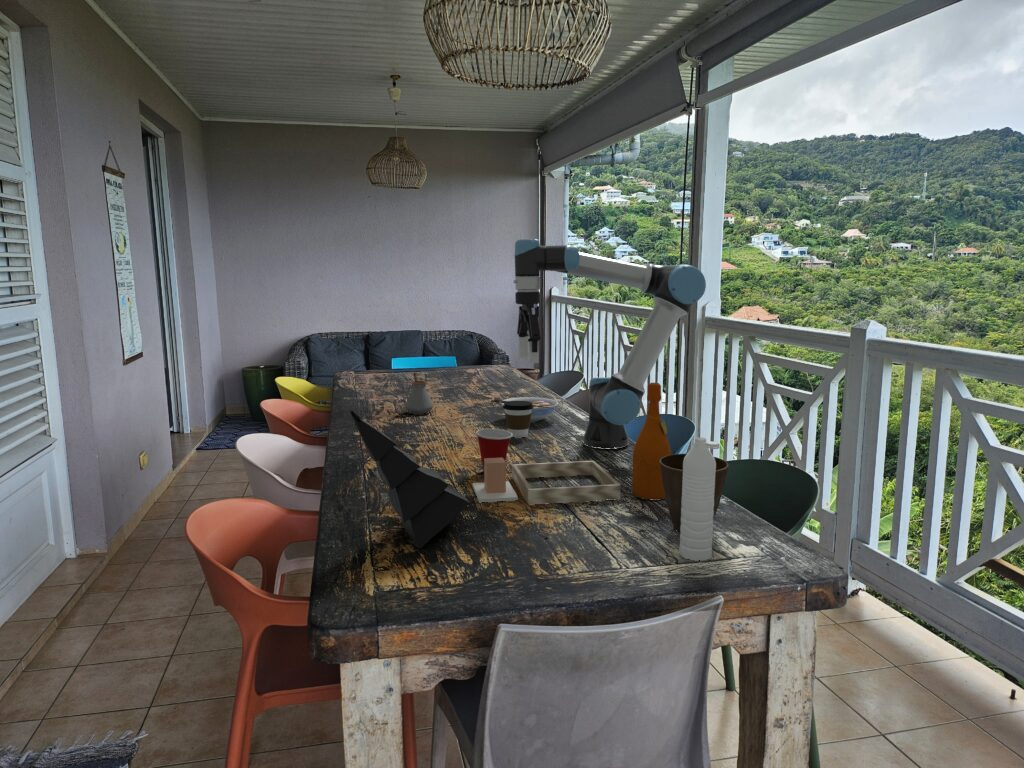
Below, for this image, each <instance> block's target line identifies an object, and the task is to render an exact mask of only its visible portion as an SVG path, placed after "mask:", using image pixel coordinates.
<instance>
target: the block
mask: <svg viewBox="0 0 1024 768" xmlns="http://www.w3.org/2000/svg"><path fill="white" fill-rule="evenodd" d="M483 474H484V475H483V477H484V478H483V479H484V481H483V482H484V488H485V490H486V492H487V493H500V492H506V481H507V461H505V460H504V459H503V458H484V470H483Z"/></svg>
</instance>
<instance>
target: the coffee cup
mask: <svg viewBox="0 0 1024 768" xmlns="http://www.w3.org/2000/svg"><path fill="white" fill-rule="evenodd" d="M503 408H504V409H505V411H504V416H505V423H506V428H507V431H508V432H511V433H512V434H513V436H512V437H515V438H514V439H523V438H522V437H525V438H527V437H528V435H529V428H530V427H531V426H530V425H531V423H530V420H531V414H532V413H531V411H532V409H533V408H534V406H533V404H532V403H531V402H529V401H508V402H505V403H504V405H503ZM503 408H502V409H503ZM504 409H503V410H504ZM512 437H511V438H512Z"/></svg>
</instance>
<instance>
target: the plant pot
mask: <svg viewBox="0 0 1024 768" xmlns="http://www.w3.org/2000/svg"><path fill="white" fill-rule="evenodd" d="M686 454H687V453H673V454H671V455H668V456H665V457H662V458H661V459H660V469H661V477H662V484H663V489H664V494H665V499H664V500H665V502H666V506H667V511H668V513H669V517H670V519H671V522H672V526H673V528H674V530H675V529H676V530H677V531H679V532H680V526H681V507H682V505H681V500H682V484H683V483H682V481H683V460H684V458H685V456H686ZM713 457H714V458H715V461H716V472H715V489H714V490H715V492H714V508H713V510H714V516H713V520H714V518H715V516H716V514H717V511H718V508H719V505H720V503H721V499H722V497H723V496H722V495H723V492H724V488H725V485H726V480H727V475H728V471H729V470H728V469H729V463H728V462H727V460H725V459H724V458H723V459H722V458H719V457H716V456H713ZM676 530H675V531H676ZM677 531H676V532H677ZM679 532H678V533H679Z"/></svg>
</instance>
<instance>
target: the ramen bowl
mask: <svg viewBox="0 0 1024 768" xmlns="http://www.w3.org/2000/svg"><path fill="white" fill-rule="evenodd" d="M508 401H529V402H531V403H532V404H533V406H534V408H533V409H532V411H531V413H532V414H531V420H530V422H532V423H537V422H539V421H540V420H544V419H546V418H548V417H549V416H552V414H553V413H554V412H555V410H556V409H557V407H558V405H559V401H558V400H555V399H552V398H546V397H536V396H534V397H531V396H530V397H529V396H526V397H511V398H507V399H503V400H501V399H492V400H490V402H491V403H497V404H498V403H500V405H501V408H502V409H503V411H504V412H505V409H504V408H503V405H504V403H505V402H508ZM536 421H537V422H536Z"/></svg>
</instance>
